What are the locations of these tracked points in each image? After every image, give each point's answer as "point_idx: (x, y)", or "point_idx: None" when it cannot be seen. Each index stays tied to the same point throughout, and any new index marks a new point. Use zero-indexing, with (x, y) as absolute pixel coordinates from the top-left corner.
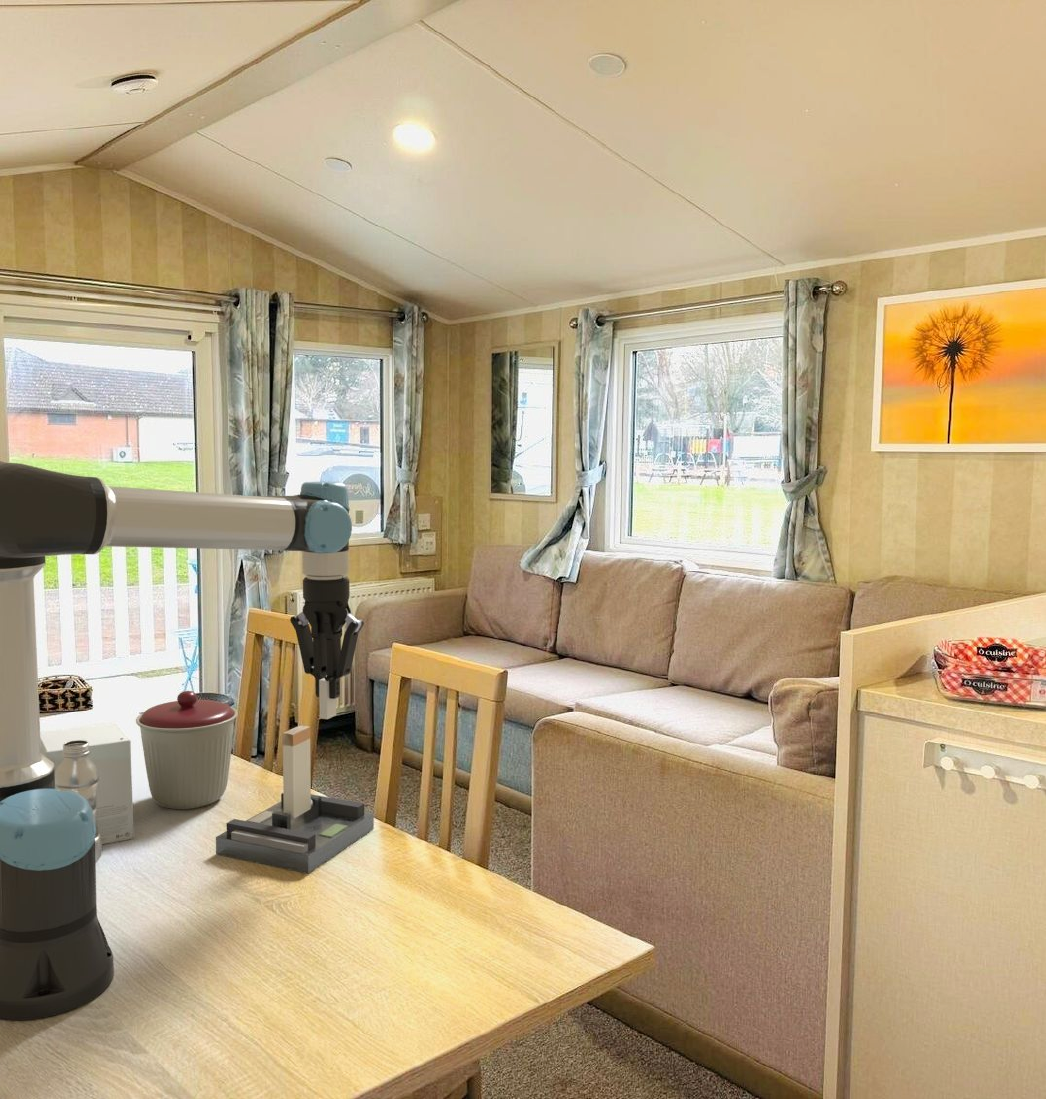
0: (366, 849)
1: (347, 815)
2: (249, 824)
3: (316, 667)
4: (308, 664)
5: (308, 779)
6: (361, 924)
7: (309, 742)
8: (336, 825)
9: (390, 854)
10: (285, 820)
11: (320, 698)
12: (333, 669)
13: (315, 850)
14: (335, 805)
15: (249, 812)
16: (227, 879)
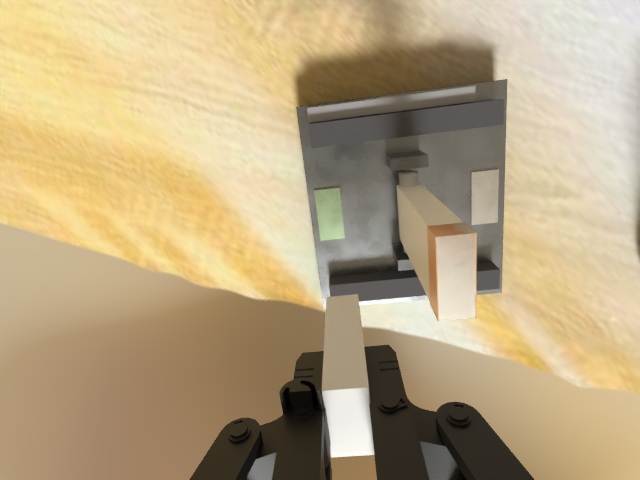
0: (283, 229)
1: (350, 275)
2: (456, 118)
3: (397, 441)
4: (460, 448)
5: (409, 253)
6: (104, 4)
7: (428, 295)
8: (337, 231)
9: (239, 232)
10: (393, 157)
11: (356, 332)
12: (277, 450)
13: (300, 131)
14: (376, 279)
15: (557, 251)
16: (404, 11)
